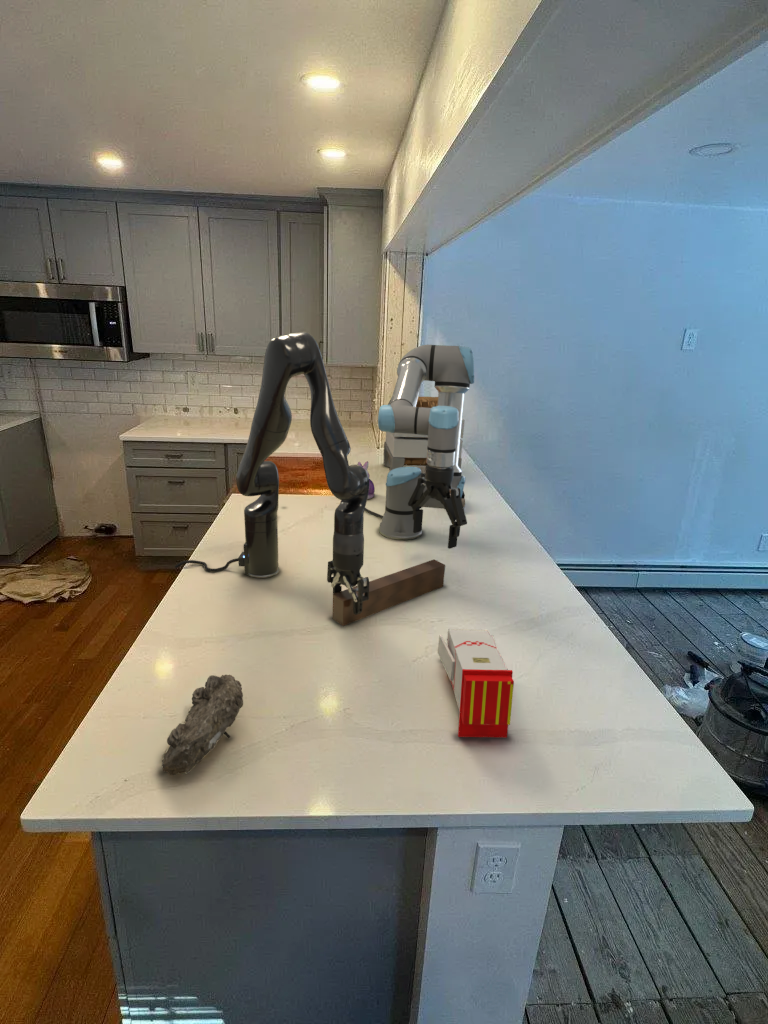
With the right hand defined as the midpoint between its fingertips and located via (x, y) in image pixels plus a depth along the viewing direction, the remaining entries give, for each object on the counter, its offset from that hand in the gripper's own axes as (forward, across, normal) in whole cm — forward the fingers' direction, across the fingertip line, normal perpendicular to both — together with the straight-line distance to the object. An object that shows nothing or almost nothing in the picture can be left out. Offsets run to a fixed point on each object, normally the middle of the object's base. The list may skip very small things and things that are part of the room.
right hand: (434, 539), depth 158 cm
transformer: (+15, -88, +80) cm, 120 cm away
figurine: (+15, -74, +35) cm, 83 cm away
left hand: (+11, 0, -30) cm, 32 cm away
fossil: (+15, +18, -75) cm, 78 cm away
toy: (+15, +39, -27) cm, 50 cm away
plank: (+15, 0, -15) cm, 21 cm away
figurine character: (+15, -44, +58) cm, 74 cm away
